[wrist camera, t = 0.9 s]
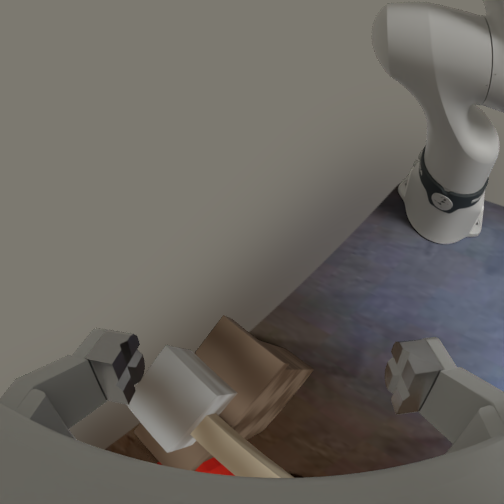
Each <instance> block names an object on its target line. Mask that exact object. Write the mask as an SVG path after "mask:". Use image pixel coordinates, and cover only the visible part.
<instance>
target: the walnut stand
mask: <svg viewBox="0 0 504 504" xmlns="http://www.w3.org/2000/svg"><path fill="white" fill-rule="evenodd" d="M195 354H196V355H197V356H198V357H199V358H200V359H201V360H202V361H203V362H204V363H205V364H206V365H207V366H208V367H209V368H210V369H211V370H213V371H214V372H215V373H216V374H217V375H218V376H219V377H220V378H221V379H222V380H223V381H225V382H226V383H227V384H228V385H229V386H230V387H231V388H232V389H234V390H235V391H236V392H237V394H236V396H235V397H234V398H233V399H232V400H231V401H230V403H229V404H228V405H227V406H226V407H225V409H224V410H223V411H222V412H221V413H220V414H219V417H221V418H222V419H223V420H224V421H225V422H226V423H227V424H228V425H229V426H230V427H232V428H233V429H234V430H235V431H236V432H237V433H238V434H240V435H241V436H242V437H243V438H244V439H246V440H248V439H249V438H251V437H253V436H255V435H256V434H258V433H260V432H262V431H263V430H264V429H265V428H266V427H267V426H268V424H269V423H270V422H271V421H272V420H273V419H274V418H275V417H276V415H277V414H278V413H279V412H280V411H281V410H282V408H283V407H284V406H285V405H286V404H287V402H288V401H289V400H290V399H291V398H292V396H293V395H294V394H295V393H296V392H297V390H298V389H299V388H300V387H301V385H302V384H303V383H304V382H305V380H306V379H307V378H308V377H309V375H310V374H311V373H312V371H313V370H314V369H313V368H311V367H310V366H309V365H307V364H306V363H304V362H303V361H302V360H300V359H299V358H298V357H296V356H295V355H294V354H292V353H291V352H290V351H288V350H287V349H285V348H281V347H278V346H275V345H272V344H269V343H266V342H262V341H259V340H258V339H256V338H255V337H254V336H252V335H251V334H250V333H249V332H247V331H246V330H245V329H244V328H242V327H241V326H240V325H239V324H238V323H236V322H235V321H234V320H233V319H231V318H228V317H226V316H224V315H223V316H222V318H221V319H220V320H219V322H218V323H217V324H216V326H215V327H214V328H213V330H212V331H211V332H210V333H209V335H208V336H207V338H206V339H205V340H204V341H203V343H202V344H201V345H200V347H199V348H198V349H197V351H196V352H195ZM134 433H135V434H136V435H137V437H138V438H139V439H140V440H141V441H142V443H143V444H144V445H145V446H146V447H147V448H148V450H149V451H150V452H151V453H152V454H153V455H154V456H155V457H156V459H157V460H158V461H159V462H160V463H161V464H162V465H163V466H168V467H173V468H179V469H184V470H190V471H195V470H196V469H197V468H198V467H199V466H200V465H201V464H202V463H203V462H205V461H207V460H209V459H211V458H213V456H212V455H211V454H210V453H209V452H208V451H207V450H206V449H205V448H204V447H203V446H202V445H201V444H200V443H199V442H198V441H195V443H194V444H193V445H191V446H188V447H185V448H182V449H178V450H175V451H172V452H169V453H167V452H166V451H165V450H164V449H163V448H162V447H161V446H160V444H159V443H158V442H157V441H156V440H155V439H154V438H153V437H152V435H151V434H150V433H149V432H148V431H147V430H146V428H145V427H144V426H143V425H142V424H141V423H140V424H139V425H138V427H137V428H136V429H135V430H134Z"/></svg>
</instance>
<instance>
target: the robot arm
mask: <svg viewBox="0 0 504 504" xmlns="http://www.w3.org/2000/svg"><path fill="white" fill-rule="evenodd" d="M483 2H484V5H485V9H486V16H483V15H481V16H480V15H477V14H473V13H470V12H467V11H463V10H459V9H455V8H451V7H447V6H443V5H438V4H433V3H428V2H399V3H388V4H387V5H385V6H384V7H383V8H382V9H381V10H380V11H379V13H378V14H377V16H376V18H375V20H374V23H373V26H372V45H373V48H374V52H375V54H376V57H377V59H378V61H379V62H380V64H381V66H382V67H383V69H384V70H385V71H386V72H387V73H388V74H389V75H390V76H391V77H392V78H393V79H395V80H396V81H398V82H399V83H400V84H402V85H403V86H404V87H405V88H406V89H407V90H408V91H409V92H410V93H411V94H412V95H413V96H414V97H415V98H416V100H417V101H418V102H419V104H420V106H421V107H422V109H423V111H424V113H425V116H426V119H427V140H426V146H425V147H424V149H423V150H422V151H421V152H420V154H419V159H420V161H417V160H416V161H415V162H414V165H413V166H414V168H412V169H411V170H410V173H409V174H408V176H407V177H406V178H405V179H404V180H403V181H402V182H401V183H400V185H399V187H398V193H399V194H400V196H401V198H402V199H403V201H404V203H405V208H406V213H407V216H408V219H409V221H410V223H411V224H412V226H413V227H414V228H415V230H416V231H417V232H418V233H419V234H421V235H422V236H423V237H425V238H426V239H428V240H430V241H433V242H436V243H440V244H450V243H455V242H457V241H459V240H461V239H463V238H465V237H475V236H478V235H479V233H480V231H481V226H482V217H483V209H484V194H485V190H486V186H487V183H488V176H489V174H490V172H491V170H492V168H493V166H494V163H495V161H496V159H497V157H498V154H499V138H498V134H497V132H496V129H495V127H494V126H493V124H492V122H491V121H490V119H489V118H488V117H487V115H486V114H485V113H484V112H483V111H482V110H481V109H480V108H478V107H477V106H476V105H475V104H477V105H484V106H486V107H490V108H492V109H495V110H498V111H501V112H504V0H483ZM476 224H477V225H476ZM139 345H140V344H139V341H138V338H137V336H136V335H134V334H130V333H124V332H118V331H112V330H106V329H100V328H96V329H93V330H92V332H91V333H90V334H89V335H88V337H87V338H86V339H85V340H84V341H83V343H82V344H81V345H80V346H79V348H78V349H77V350H76V351H75V352H74V354H73V355H72V356H70V355H67V356H65V357H63V358H61V359H59V360H57V361H54V362H52V363H50V364H48V365H46V366H43V367H41V368H39V369H37V370H35V371H32V372H30V373H28V374H26V375H24V376H21V377H19V378H17V379H16V380H15V381H14V382H13V383H12V384H11V386H10V387H9V388H8V389H7V391H6V392H5V393H4V394H3V396H2V397H1V398H0V504H504V392H503V391H501V390H499V389H498V388H496V387H494V386H493V385H491V384H489V383H487V382H486V381H484V380H482V379H480V378H479V377H477V376H475V375H474V374H472V373H470V372H468V371H467V370H465V369H463V368H461V367H459V368H457V367H456V365H455V363H454V362H453V360H452V358H451V357H450V355H449V354H448V352H447V351H446V349H445V348H444V346H443V344H442V343H441V341H440V340H439V339H438V338H436V337H432V338H424V339H419V340H409V341H398V342H395V344H394V345H393V348H392V351H391V352H392V355H393V358H392V359H390V360H389V361H388V363H387V366H386V369H385V383H386V386H387V389H388V390H389V391H390V392H392V393H393V396H392V398H391V401H392V404H393V407H394V410H395V413H396V415H397V414H405V413H412V412H418V411H420V412H419V413H420V414H421V415H422V416H423V417H424V418H426V419H427V420H428V421H429V422H430V423H431V424H432V425H433V426H434V427H435V428H436V429H438V430H439V431H440V432H441V433H442V434H443V435H444V436H445V437H446V438H447V439H448V440H450V441H451V442H452V443H453V445H452V446H451V448H450V449H449V450H448V451H447V452H446V454H445V455H442V456H438V457H435V458H431V459H428V460H424V461H420V462H416V463H412V464H407V465H403V466H398V467H393V468H388V469H382V470H376V471H370V472H363V473H356V474H347V475H337V476H325V477H307V478H261V477H242V476H230V475H220V474H211V473H204V472H197V471H190V470H184V469H179V468H173V467H168V466H163V465H159V464H154V463H150V462H146V461H142V460H138V459H134V458H130V457H127V456H123V455H120V454H116V453H113V452H110V451H107V450H103V449H100V448H98V447H94V446H92V445H89V444H86V443H84V442H81V441H78V440H76V439H75V437H74V436H73V435H72V433H71V432H70V430H69V428H71V427H72V426H74V425H75V424H76V423H78V422H79V421H81V420H82V419H83V418H85V417H86V416H87V415H89V414H90V413H92V412H93V411H94V410H96V409H97V408H98V407H100V406H101V405H103V404H104V403H105V402H106V400H108V401H113V402H117V403H122V404H127V405H129V403H130V401H131V399H132V397H133V395H134V393H135V391H136V390H135V387H134V385H135V384H137V383H139V382H140V381H141V379H142V377H143V374H144V369H145V365H144V358H143V355H142V354H141V353H140V352H139V351H138V350H137V348H138V346H139Z"/></svg>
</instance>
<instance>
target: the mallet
mask: <svg viewBox="0 0 504 504" xmlns="http://www.w3.org/2000/svg"><path fill="white" fill-rule="evenodd" d="M135 390H136V391H135V393H134V395H133V397H132V399H131V401H130V403H129V405H127V404H126V405H127V406H128V407H129V409H130V410H131V411H132V412H133V414H134V415H135V416H136V417H137V419H138V420H139V421H140V422H141V424H142V425H143V426H144V427H145V428H146V430H147V431H148V432H149V433H150V434H151V435H152V437H153V438H154V439H155V440H156V441H157V442H158V443H159V444H160V446H161V447H162V448H163V449H164V450H165V451H166V452H167V453H169V452H172V451H175V450H178V449H182V448H185V447H188V446H191V445H193V444H194V443H195V441H198V442H199V443H200V444H201V445H202V446H203V447H204V448H205V449H206V450H207V451H208V452H209V453H210V454H211V455H212V456H213V457H214V458H216V459H217V460H218V461H219V462H220V463H221V464H222V465H223V466H225V467H226V468H227V469H228V470H229V471H230V472H231V473H233V474H234V475H235V476H242V477H261V478H294V477H293V476H292V475H290V474H289V473H287V472H286V471H285V470H283V469H282V468H281V467H279V466H278V465H277V464H275V463H274V462H273V461H271V460H270V459H269V458H268V457H266V456H265V455H264V454H263V453H261V452H260V451H259V450H258V449H256V448H255V447H254V446H253V445H252V444H250V443H249V442H248V441H247V440H246V439H244V438H243V437H242V436H241V435H240V434H238V433H237V432H236V431H235V430H234V429H233V428H232V427H230V426H229V425H228V424H227V423H226V422H225V421H224V420H223V419H222V418H221V417H219V414H220V413H221V412H222V411H223V410H224V409H225V407H226V406H227V405H228V404H229V403H230V401H231V400H232V399H233V398H234V397H235V396H236V394H237V392H236V391H235V390H234V389H232V388H231V387H230V386H229V385H228V384H227V383H226V382H225V381H223V380H222V379H221V378H220V377H219V376H218V375H217V374H216V373H215V372H214V371H213V370H211V369H210V368H209V367H208V366H207V365H206V364H205V363H204V362H203V361H202V360H201V359H200V358H199V357H198V356H197V355H196V354H195V353H194V352H193V351H192V350H189V349H184V348H178V347H173V346H168V345H166V346H165V347H164V348H163V350H162V351H161V352H160V354H159V355H158V357H157V358H156V359H155V361H154V362H153V363H152V365H151V366H150V368H149V369H148V370H147V371H146V373H145V374H144V376H143V377H142V379H141V381H140V382H139V383H138V384H137V385H136V387H135Z"/></svg>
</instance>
